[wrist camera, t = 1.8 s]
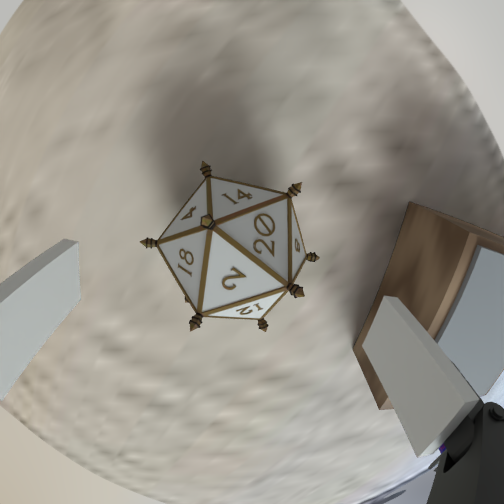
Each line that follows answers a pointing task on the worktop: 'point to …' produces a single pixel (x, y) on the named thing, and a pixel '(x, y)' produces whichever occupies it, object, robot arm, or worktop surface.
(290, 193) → the game die
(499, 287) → the walnut base block
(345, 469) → the worktop surface
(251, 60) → the worktop surface
